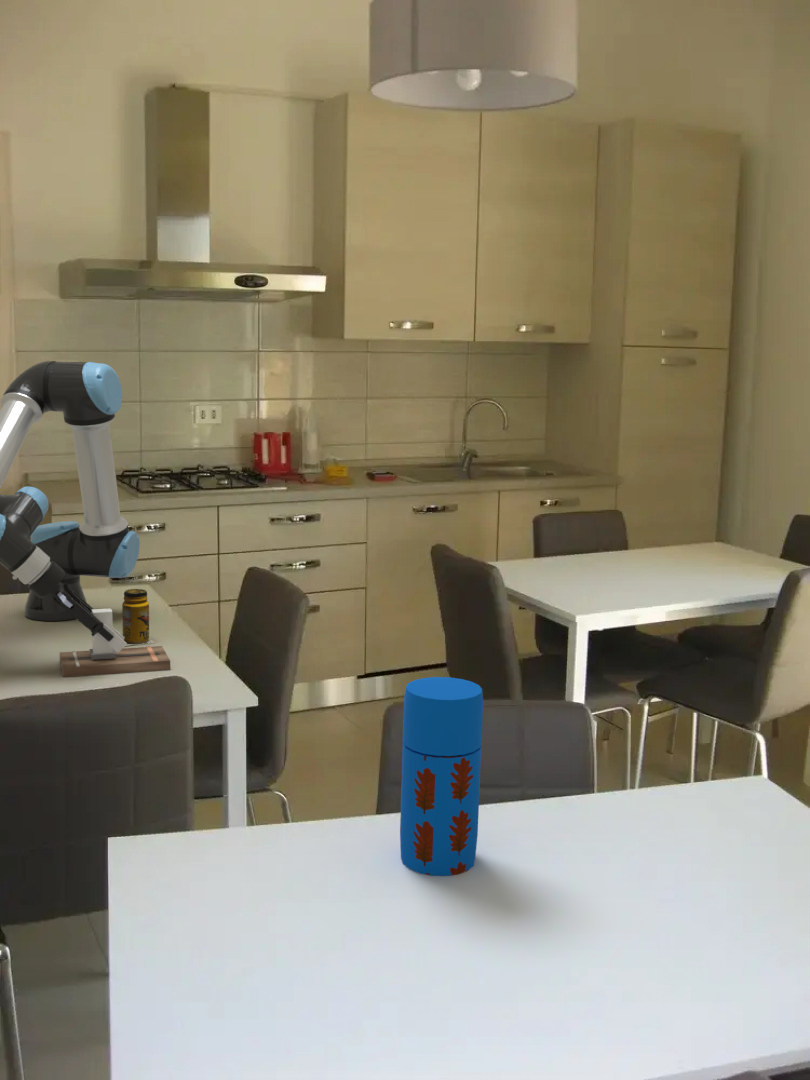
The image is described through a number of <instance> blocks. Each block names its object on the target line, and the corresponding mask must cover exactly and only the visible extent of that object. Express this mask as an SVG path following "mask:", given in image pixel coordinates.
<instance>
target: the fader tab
mask: <svg viewBox="0 0 810 1080" xmlns="http://www.w3.org/2000/svg"><path fill="white" fill-rule="evenodd" d="M92 614H93V615H94V616H95V617H96V618H97V619H99V620H100V621H101V622H102V623H103V624H104V623H105V624H106V625H107V626H108V627H109V628H110V629H111V630H113V628H114V627H113V624H114V623H113V610H112V608H97V609H96V608H93V609H92ZM91 640H92V641H91V643H92V645H91V648H90V649H89V651H90V656H91V659H92V660H98V659H113V658H116V653H115V650H114V649H113V648H112V647H110V646H109V645H108V644H107V643H106V642H105V641H104V640H102V639H101V638H100V637H99V636H98V635H97V634H95V635H94V636H92V635H91Z"/></svg>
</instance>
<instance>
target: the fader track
mask: <svg viewBox="0 0 810 1080" xmlns="http://www.w3.org/2000/svg"><path fill="white" fill-rule="evenodd" d="M115 653H116V658H113V659H98V660H92V659H91V656H90V650H78V651H76V650H73V651H62V652H59V663H60V668H62V669H61V671H62V672H61V673H62V676H63V678H70V677H83V676H100V675H110V674H111V675H113V674H114V675H115V674H126V673H127V674H128V673H141V672H144V673H145V672H157V671H158V672H159V671H169V670H171V659H170V658H169V656H168V654H167V652H166V651H165V649H164V647H163V645H157V646H156V645H155V646H150V645H149V646H147V645H146V646H144V647H143V646H142V647H139V646H138V647H124V648H123V649H122V650H121V651H120V652H119V653H117V652H116V651H115Z"/></svg>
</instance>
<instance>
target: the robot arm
mask: <svg viewBox="0 0 810 1080" xmlns="http://www.w3.org/2000/svg"><path fill="white" fill-rule="evenodd" d="M122 399H123V390H122V384H121V381H120V378H119V375H118V374H117V372H116V371H115V370H114V368H113V367H111V365H109V364H106V363H101V362H98V363H97V362H94V361H57V360H47V361H46V360H45V361H42V362H39V363H36V364H34V365H32V366H30V367H28V368H27V369H25V370H24V371H23V372H21V373H20V374H19V375H18V376H17V377H15V379H14V380H13V381H12V382H11V383H10V384H9V385H8V387H7V388H6V390H5V391H4V393H3V395H2V397H1V399H0V407H1V408H0V489H1V488H2V485H3V484H4V482H5V480H6V478H7V476H8V474H9V472H10V470H11V468H12V466H13V464H14V463H15V461H16V458H17V456H18V453H19V452H20V450H21V448H22V446H23V444H24V442H25V440H26V438H27V436H28V434H29V433H30V430H31V429H32V426H33V424H36V423H38V422H39V421H41V419H42V417H43V415H44V414H45V413H49V412H60V413H63V421H64V423H65V425H68V427H70V428H71V429H72V438H73V444H74V451H75V459H76V465H77V475H78V481H79V488H80V495H81V502H82V509H83V517H84V520H83V522H81V524H79V522H78V521H74V520H73V521H72V520H71V521H70V520H69V521H68V520H67V521H57V522H51V523H45V524H41V523H42V521H44V518H45V516H46V514H47V513H48V510H49V506H50V505H49V504H50V503H49V500H48V497H47V496H46V494H45V493H44V492H43V491H41V490H40V489H39V488H37V487H33V486H28V485H27V486H23V487H21V488H19V489H18V490H17V491H16V492H15V493H14V495H13V494H0V565H1V566H2V567H3V568H5V569H6V570H7V571H8V572H9V573H10V574H12V580H14V581H16V580H17V579H18V580H19V581H20V582H21V583H22V584H24V585H27V588H28V590H29V592H28V593H29V594H28V596H27V599H26V603H25V606H24V613H25V617H26V618H27V619H31V620H34V621H42V622H43V621H46V622H59V621H61V622H62V621H69V620H77V621H79V623H81V624H82V625H83V626H85V627H86V628H87V629H88V630H89V631H90V632H91V633H90V634H91V637H92V636H94V635H95V634H97V635H98V636H99V637H100V638H101V639H102V640H104V641H105V642H106V643H107V644H108V645H109V646H110V647H112V648H113V649H114V650H115V651H116V652H117V653H119V652H120V651H121V650H122V649H123V648H126V647H127V646H126V645H127V643H126V642H125V641H124V639H125V638H124V637H123V634H121V633H120V632H119V631H118V630H117V629H115V627H113V630H111V629H110V628H109V627H108V626H107V625H106V624H105V623H104V624H103V623H102V622H101V621H100V620H99V619H97V618H96V617H95V616H94V615H93V614H92V609H94V608H93V607H92V606H91V605H90V604H89V603H88V602H87V599H86V595H85V594H84V590H83V588H82V585H81V576H86V577H99V578H109V579H114V578H121V579H123V578H127V577H128V576H129V575H130V574H131V573H132V572H133V571H134V569H135V567H136V565H137V562H138V558H139V554H140V537H139V535H138V533H137V532H136V531H133V530H129V528H130V527H129V523H128V521H127V519H126V518H124V517H123V516H121V510H120V502H119V501H120V500H119V494H118V482H117V477H116V467H115V460H114V452H113V445H112V443H113V442H112V437H111V436H112V435H111V429H110V428H111V426H110V425H111V423H113V421H114V420H115V419H116V413H118V412H119V410H121V407H122V401H123V400H122Z"/></svg>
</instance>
